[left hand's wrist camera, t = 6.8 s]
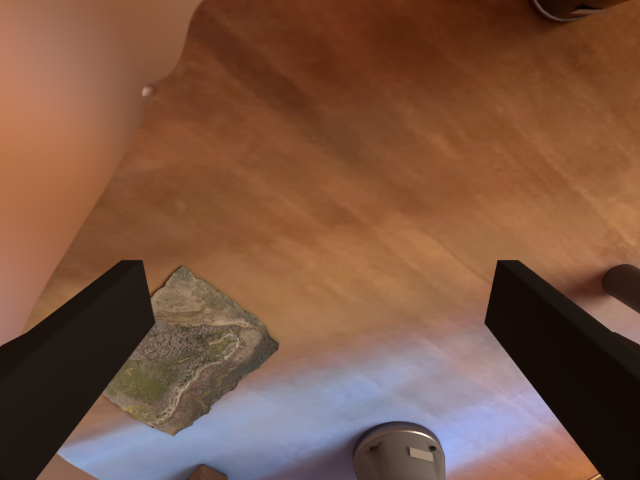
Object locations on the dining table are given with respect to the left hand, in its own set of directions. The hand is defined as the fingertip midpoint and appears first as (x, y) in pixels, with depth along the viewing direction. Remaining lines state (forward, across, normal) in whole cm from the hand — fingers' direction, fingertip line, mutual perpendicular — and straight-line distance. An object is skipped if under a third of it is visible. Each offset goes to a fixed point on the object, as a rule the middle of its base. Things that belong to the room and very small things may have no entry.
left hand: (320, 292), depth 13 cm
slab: (+30, +22, +29) cm, 47 cm away
